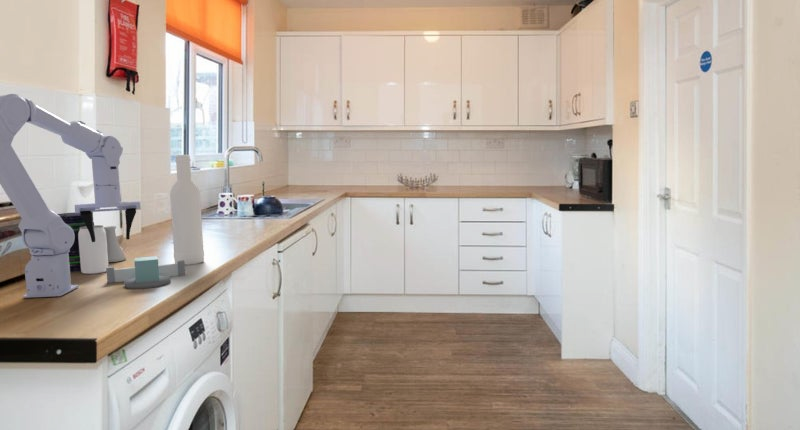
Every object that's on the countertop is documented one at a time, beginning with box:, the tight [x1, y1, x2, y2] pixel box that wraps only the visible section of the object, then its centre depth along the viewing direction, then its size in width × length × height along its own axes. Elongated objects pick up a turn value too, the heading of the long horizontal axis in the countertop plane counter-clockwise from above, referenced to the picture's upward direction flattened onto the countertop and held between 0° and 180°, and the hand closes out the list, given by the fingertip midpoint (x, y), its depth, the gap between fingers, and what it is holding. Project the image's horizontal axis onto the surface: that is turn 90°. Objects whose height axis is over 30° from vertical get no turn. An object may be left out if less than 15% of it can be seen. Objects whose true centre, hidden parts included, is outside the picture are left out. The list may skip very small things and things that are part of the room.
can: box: [78, 224, 109, 275], centre depth 158 cm, size 6×6×12 cm
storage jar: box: [56, 212, 95, 273], centre depth 163 cm, size 10×10×15 cm
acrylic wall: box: [106, 260, 186, 284], centre depth 148 cm, size 18×2×4 cm, turn 114°
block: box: [133, 255, 159, 283], centre depth 142 cm, size 5×5×5 cm
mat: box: [123, 275, 172, 290], centre depth 142 cm, size 10×10×1 cm
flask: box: [103, 225, 127, 263], centre depth 175 cm, size 7×7×10 cm
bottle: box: [169, 154, 205, 266], centre depth 168 cm, size 8×8×30 cm
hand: (110, 240), depth 149 cm, fingers open, 7 cm apart
